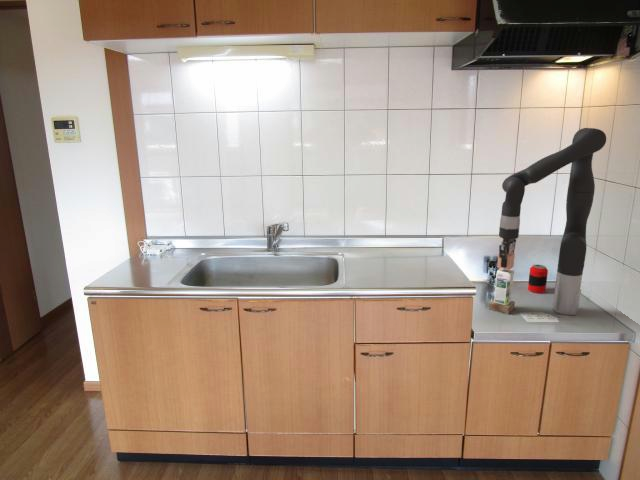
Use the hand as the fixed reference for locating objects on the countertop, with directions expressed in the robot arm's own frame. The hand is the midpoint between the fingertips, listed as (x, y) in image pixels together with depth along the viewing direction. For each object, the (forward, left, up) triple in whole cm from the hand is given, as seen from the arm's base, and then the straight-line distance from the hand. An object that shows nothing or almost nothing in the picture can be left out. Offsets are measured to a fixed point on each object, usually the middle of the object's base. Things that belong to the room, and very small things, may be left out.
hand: (505, 265), depth 188 cm
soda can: (-6, -31, -20) cm, 37 cm away
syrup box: (0, 0, -17) cm, 17 cm away
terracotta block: (0, 0, -1) cm, 1 cm away
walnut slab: (0, 0, -20) cm, 20 cm away
